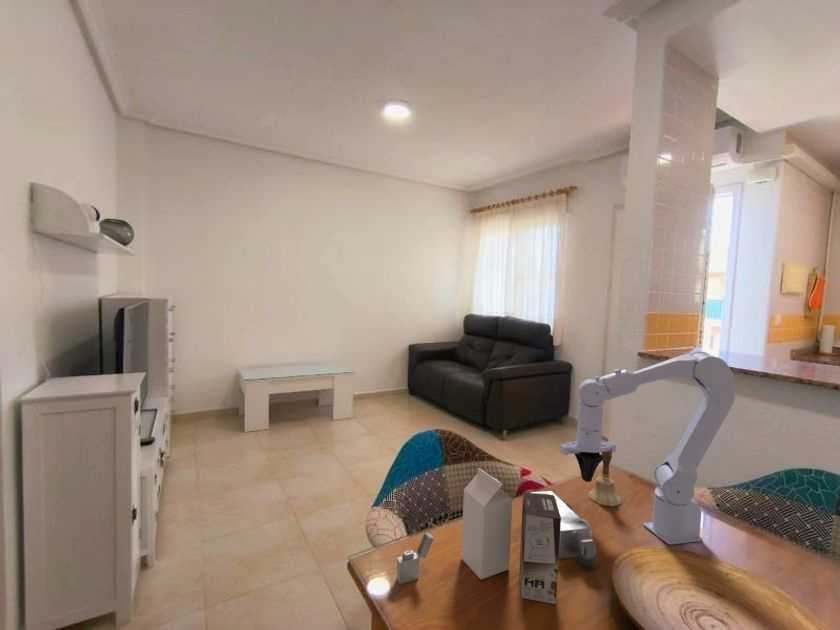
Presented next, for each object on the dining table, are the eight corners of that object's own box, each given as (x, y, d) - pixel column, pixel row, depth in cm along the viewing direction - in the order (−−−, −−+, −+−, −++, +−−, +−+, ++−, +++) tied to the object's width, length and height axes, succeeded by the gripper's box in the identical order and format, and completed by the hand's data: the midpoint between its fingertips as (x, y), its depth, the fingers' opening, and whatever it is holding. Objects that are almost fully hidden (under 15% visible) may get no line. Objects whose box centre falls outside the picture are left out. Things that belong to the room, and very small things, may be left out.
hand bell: (581, 492, 114) (585, 438, 113) (606, 490, 116) (610, 436, 115) (601, 508, 106) (605, 449, 105) (628, 505, 108) (631, 447, 107)
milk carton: (481, 581, 77) (485, 486, 76) (460, 558, 84) (464, 471, 83) (509, 570, 81) (513, 479, 80) (488, 549, 87) (491, 465, 86)
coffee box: (557, 605, 72) (562, 519, 71) (520, 598, 73) (524, 514, 72) (551, 571, 81) (555, 494, 80) (518, 565, 82) (522, 490, 81)
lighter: (399, 584, 76) (400, 544, 75) (396, 578, 77) (397, 538, 77) (432, 574, 79) (434, 535, 78) (428, 568, 80) (430, 530, 80)
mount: (550, 514, 102) (551, 490, 101) (588, 555, 86) (590, 527, 86) (524, 516, 100) (525, 492, 100) (559, 558, 85) (561, 530, 84)
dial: (589, 560, 84) (590, 535, 84) (598, 570, 81) (599, 544, 81) (576, 562, 84) (577, 536, 83) (584, 572, 81) (586, 545, 81)
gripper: (604, 421, 106) (601, 471, 106) (554, 423, 103) (552, 474, 103) (623, 430, 99) (619, 483, 99) (570, 433, 96) (567, 488, 97)
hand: (586, 480), depth 101 cm, fingers closed
